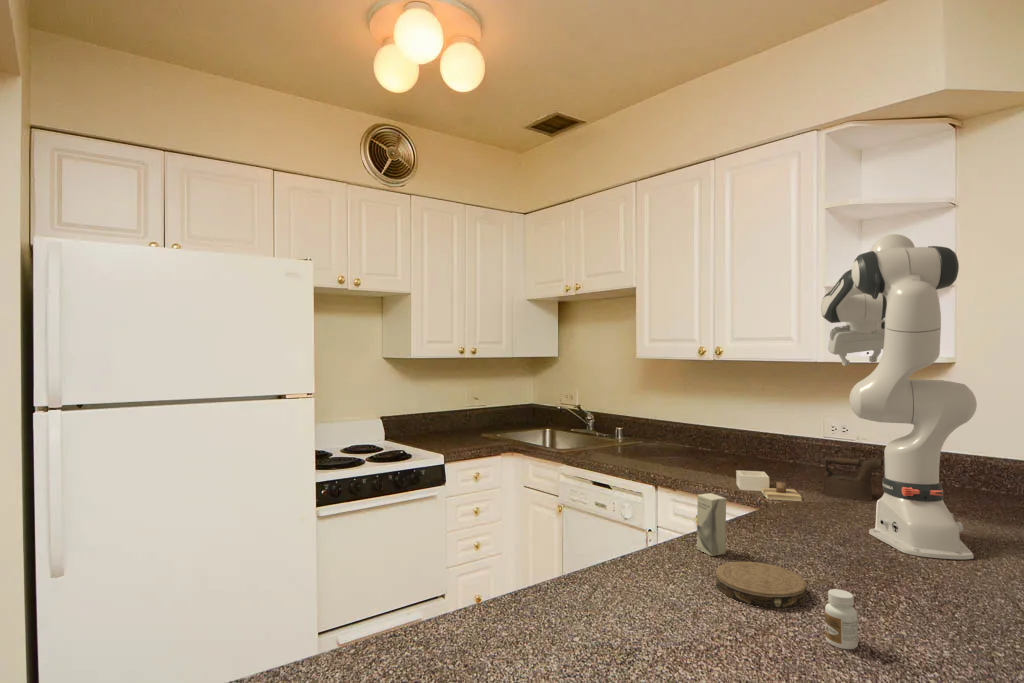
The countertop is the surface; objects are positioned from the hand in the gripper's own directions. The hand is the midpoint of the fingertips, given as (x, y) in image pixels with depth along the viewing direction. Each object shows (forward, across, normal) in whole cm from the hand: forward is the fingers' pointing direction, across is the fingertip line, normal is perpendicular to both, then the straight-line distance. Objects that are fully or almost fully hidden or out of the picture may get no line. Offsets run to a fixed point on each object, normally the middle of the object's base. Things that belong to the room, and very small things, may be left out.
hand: (859, 363), depth 190 cm
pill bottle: (+4, -72, -105) cm, 127 cm away
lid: (+34, -36, -20) cm, 53 cm away
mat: (+34, -36, -20) cm, 54 cm away
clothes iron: (+36, -15, -21) cm, 45 cm away
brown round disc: (+10, -75, -86) cm, 115 cm away
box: (+16, -77, -65) cm, 102 cm away
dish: (+37, -40, -9) cm, 55 cm away
